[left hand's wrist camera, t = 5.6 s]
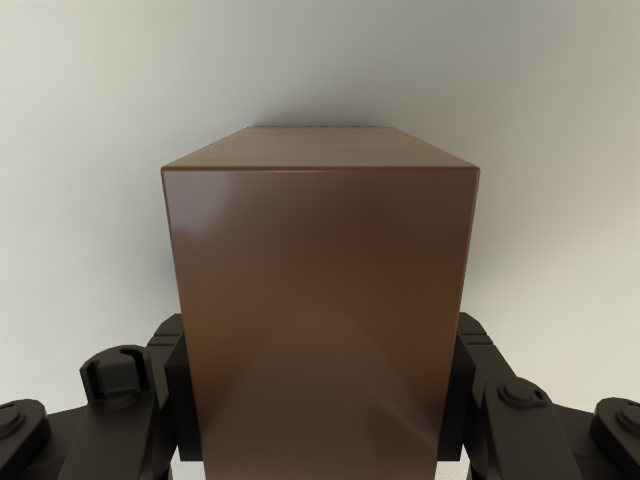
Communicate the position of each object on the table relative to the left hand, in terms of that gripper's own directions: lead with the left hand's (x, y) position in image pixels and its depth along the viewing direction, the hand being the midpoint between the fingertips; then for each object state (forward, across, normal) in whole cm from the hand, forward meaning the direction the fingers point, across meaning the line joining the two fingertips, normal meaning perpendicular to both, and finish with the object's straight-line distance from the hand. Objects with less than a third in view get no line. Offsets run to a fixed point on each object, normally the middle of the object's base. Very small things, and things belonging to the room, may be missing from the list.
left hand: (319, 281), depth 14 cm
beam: (+1, 0, -32) cm, 32 cm away
